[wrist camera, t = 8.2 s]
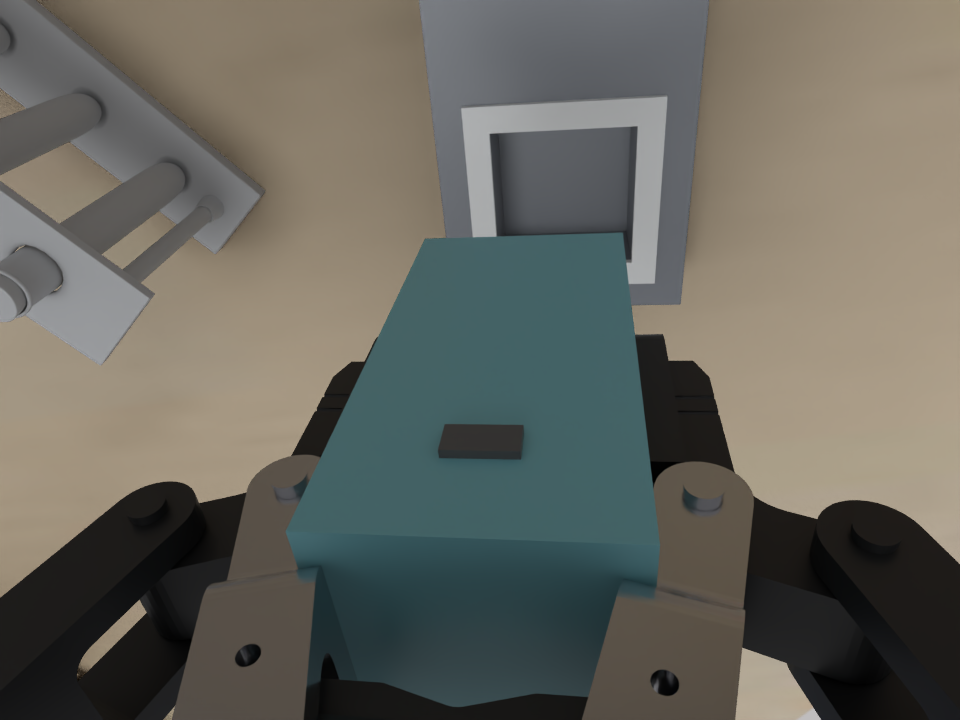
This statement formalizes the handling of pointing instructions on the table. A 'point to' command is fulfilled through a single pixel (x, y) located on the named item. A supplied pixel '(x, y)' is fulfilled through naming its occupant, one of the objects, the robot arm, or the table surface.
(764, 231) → the table surface
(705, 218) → the table surface
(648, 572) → the block
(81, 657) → the robot arm
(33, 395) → the table surface
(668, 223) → the power strip
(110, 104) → the test tube rack
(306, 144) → the table surface
